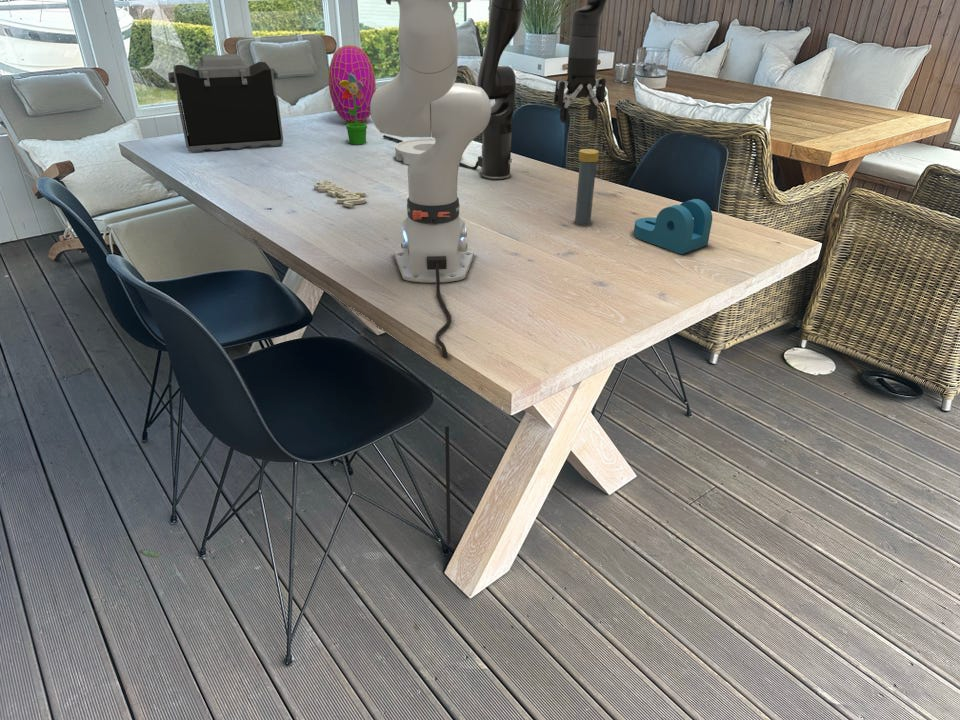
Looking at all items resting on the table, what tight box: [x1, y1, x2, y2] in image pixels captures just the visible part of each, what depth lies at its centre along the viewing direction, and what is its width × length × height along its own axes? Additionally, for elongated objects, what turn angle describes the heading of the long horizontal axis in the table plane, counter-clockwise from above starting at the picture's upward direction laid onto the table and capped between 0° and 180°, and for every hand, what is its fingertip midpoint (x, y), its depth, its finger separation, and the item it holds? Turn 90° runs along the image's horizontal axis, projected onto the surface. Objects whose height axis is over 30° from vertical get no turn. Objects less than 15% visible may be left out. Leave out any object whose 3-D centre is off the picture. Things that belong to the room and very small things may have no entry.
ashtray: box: [394, 138, 436, 166], centre depth 243 cm, size 23×23×4 cm
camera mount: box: [632, 198, 713, 255], centre depth 173 cm, size 18×10×10 cm, turn 39°
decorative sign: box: [313, 179, 366, 209], centre depth 205 cm, size 26×1×10 cm
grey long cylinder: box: [574, 160, 597, 227], centre depth 181 cm, size 4×4×19 cm
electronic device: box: [167, 53, 284, 153], centre depth 252 cm, size 37×22×30 cm, turn 111°
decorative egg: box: [328, 44, 377, 124], centre depth 286 cm, size 19×19×30 cm
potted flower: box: [339, 73, 368, 145], centre depth 255 cm, size 9×8×25 cm
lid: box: [578, 148, 600, 163], centre depth 177 cm, size 5×5×2 cm
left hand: (430, 23), depth 166 cm, fingers open, 8 cm apart
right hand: (577, 121), depth 183 cm, fingers open, 8 cm apart
